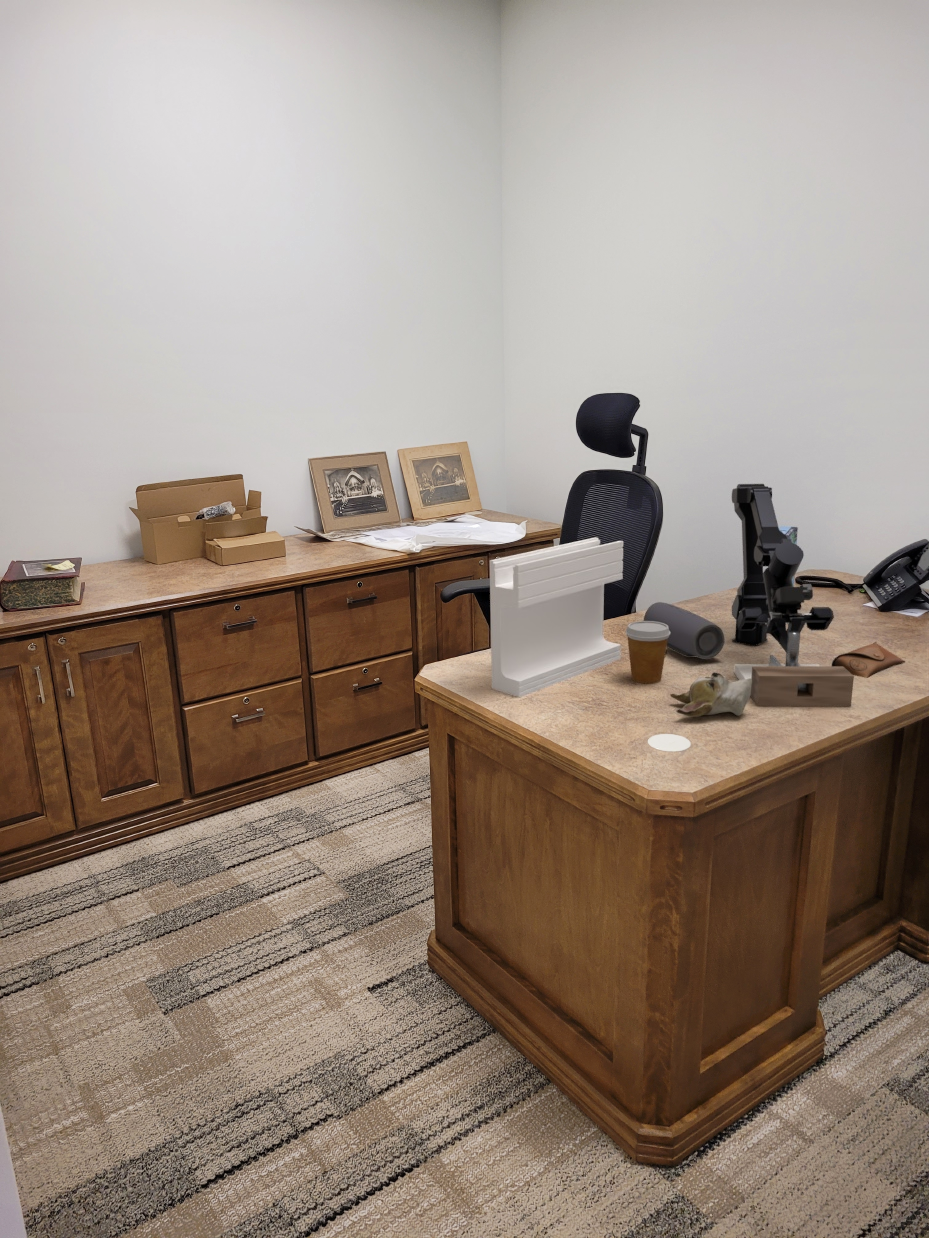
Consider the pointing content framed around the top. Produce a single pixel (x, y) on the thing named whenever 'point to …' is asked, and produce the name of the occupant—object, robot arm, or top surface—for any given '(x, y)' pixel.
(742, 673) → the door panel
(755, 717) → the top surface
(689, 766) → the top surface
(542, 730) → the top surface
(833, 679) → the door jamb
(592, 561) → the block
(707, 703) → the ceramic sculpture
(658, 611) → the bluetooth speaker
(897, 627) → the top surface
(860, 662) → the sunglasses case
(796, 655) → the bolt
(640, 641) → the disposable coffee cup
